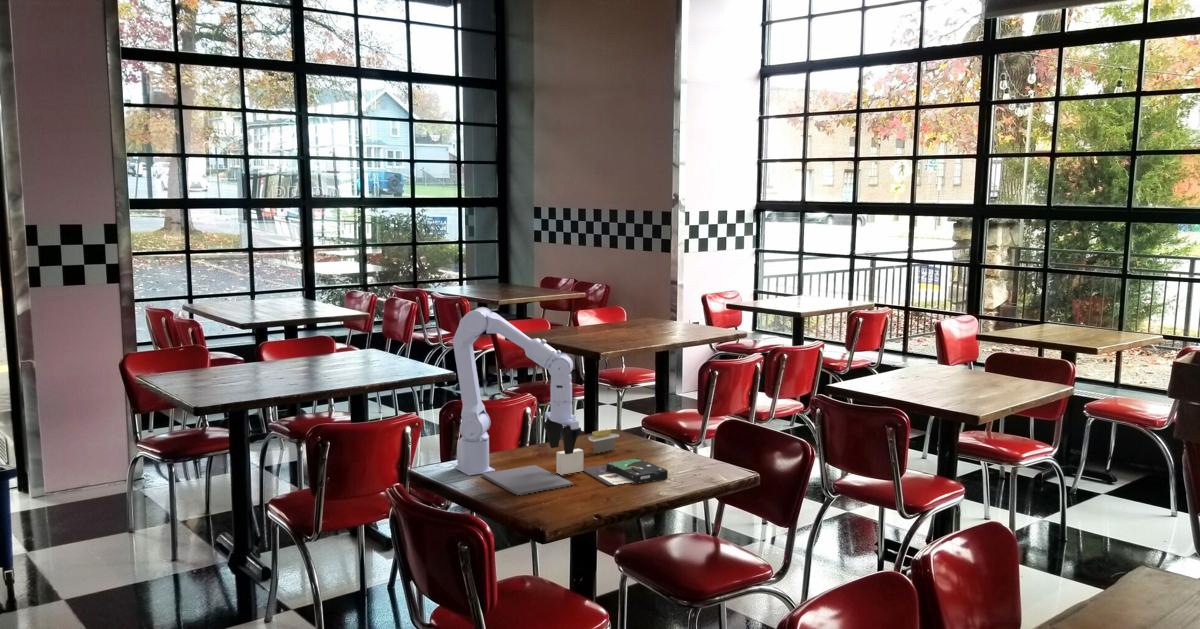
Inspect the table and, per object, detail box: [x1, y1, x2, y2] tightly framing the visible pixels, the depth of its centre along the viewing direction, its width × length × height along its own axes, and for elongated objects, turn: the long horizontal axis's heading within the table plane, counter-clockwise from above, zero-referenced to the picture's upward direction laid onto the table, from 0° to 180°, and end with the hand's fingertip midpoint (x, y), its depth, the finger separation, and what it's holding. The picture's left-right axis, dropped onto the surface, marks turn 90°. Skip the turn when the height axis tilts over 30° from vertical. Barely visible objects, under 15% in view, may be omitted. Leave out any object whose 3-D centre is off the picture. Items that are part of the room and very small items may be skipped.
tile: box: [555, 448, 584, 476], centre depth 261 cm, size 2×7×6 cm, turn 122°
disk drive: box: [606, 457, 669, 484], centre depth 259 cm, size 10×3×15 cm
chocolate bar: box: [583, 463, 634, 487], centre depth 258 cm, size 9×1×18 cm
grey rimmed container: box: [588, 428, 620, 454], centre depth 283 cm, size 12×18×7 cm, turn 129°
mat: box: [482, 464, 574, 497], centre depth 253 cm, size 20×16×1 cm
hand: (561, 450), depth 259 cm, fingers open, 7 cm apart
